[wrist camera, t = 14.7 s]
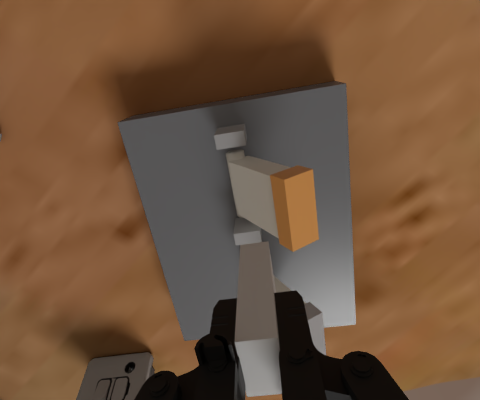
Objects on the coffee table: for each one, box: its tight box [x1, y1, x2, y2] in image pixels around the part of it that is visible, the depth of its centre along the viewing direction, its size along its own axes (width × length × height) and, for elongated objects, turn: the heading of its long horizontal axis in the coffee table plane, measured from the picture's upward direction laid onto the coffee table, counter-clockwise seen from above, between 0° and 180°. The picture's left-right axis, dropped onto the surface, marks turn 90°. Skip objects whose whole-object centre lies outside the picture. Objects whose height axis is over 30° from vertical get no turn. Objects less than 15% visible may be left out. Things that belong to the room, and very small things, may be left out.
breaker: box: [274, 276, 326, 355], centre depth 31 cm, size 2×6×10 cm
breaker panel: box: [117, 81, 356, 341], centre depth 33 cm, size 20×26×7 cm
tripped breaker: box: [226, 150, 319, 252], centre depth 26 cm, size 2×6×10 cm
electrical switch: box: [76, 352, 155, 400], centre depth 43 cm, size 9×5×9 cm, turn 101°
